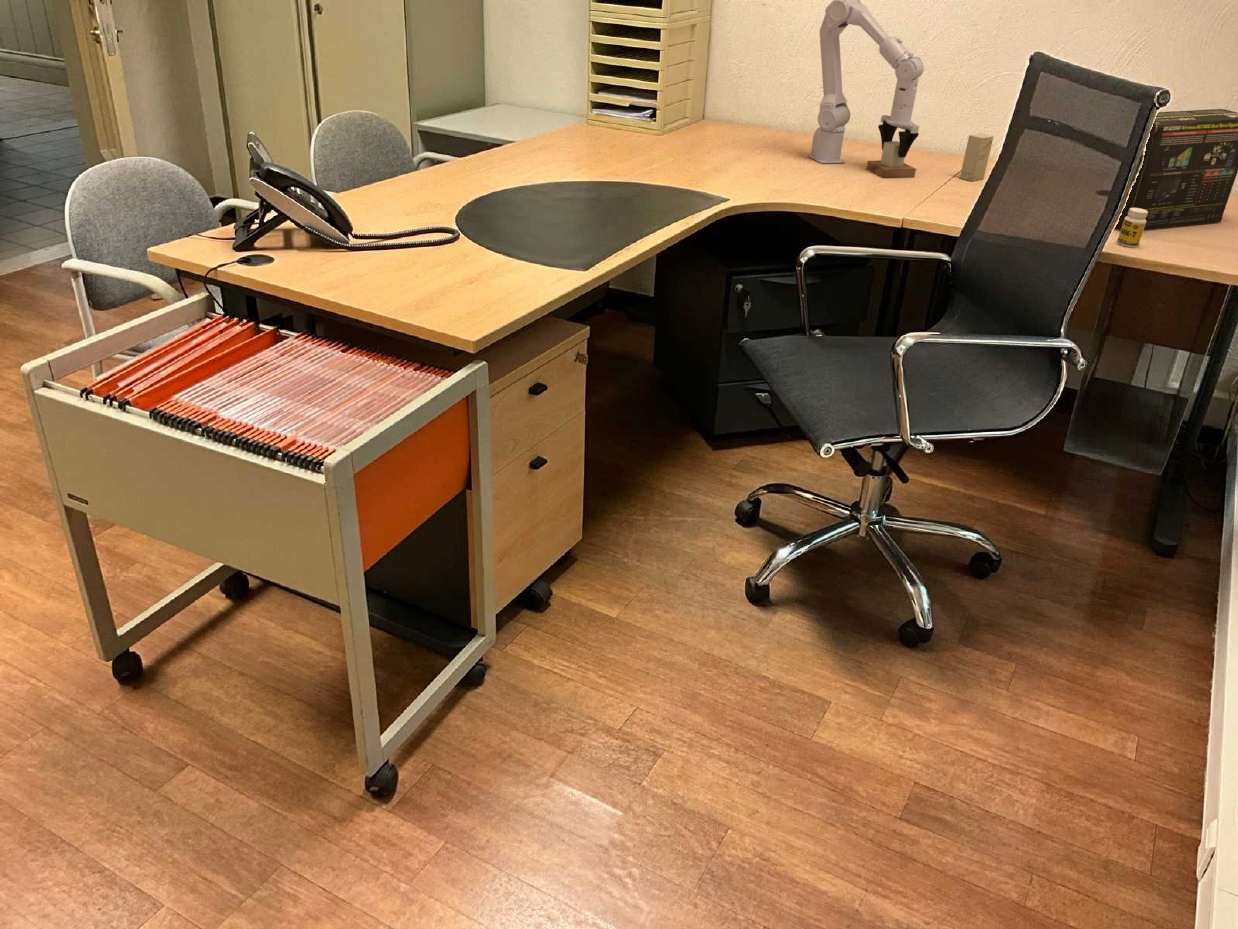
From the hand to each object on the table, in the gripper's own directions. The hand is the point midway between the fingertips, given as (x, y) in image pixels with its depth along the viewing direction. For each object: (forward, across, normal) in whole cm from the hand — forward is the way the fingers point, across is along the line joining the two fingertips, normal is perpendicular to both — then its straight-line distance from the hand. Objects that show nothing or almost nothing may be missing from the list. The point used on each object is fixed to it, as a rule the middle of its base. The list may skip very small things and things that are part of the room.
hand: (893, 153), depth 282 cm
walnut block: (+6, 0, 0) cm, 6 cm away
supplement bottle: (+6, +70, +17) cm, 73 cm away
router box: (+6, +58, +41) cm, 71 cm away
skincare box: (+6, +11, +21) cm, 24 cm away
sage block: (+3, 0, 0) cm, 3 cm away
